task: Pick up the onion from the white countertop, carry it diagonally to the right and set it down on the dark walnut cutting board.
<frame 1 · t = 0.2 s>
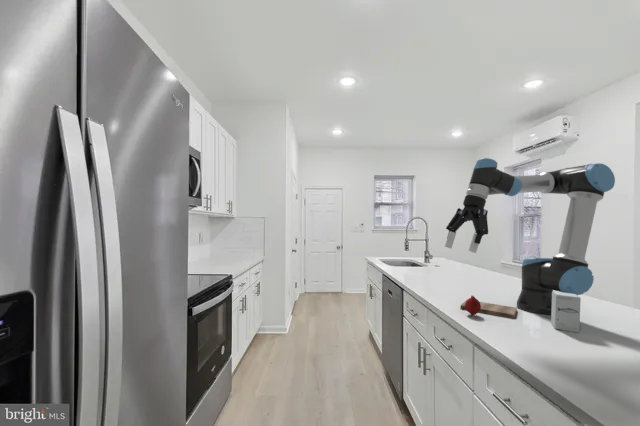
hand: (459, 249, 122), 27 cm above the counter, tool tilted 15°, fingers open, 13 cm apart
onion: (472, 315, 129), on the counter
supplement box: (564, 329, 117), on the counter
walnut board: (488, 310, 138), on the counter
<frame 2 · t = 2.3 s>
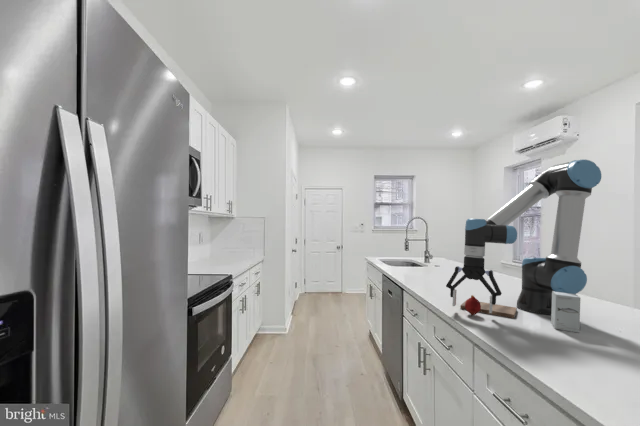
hand: (471, 309, 129), 2 cm above the counter, tool pointing down, fingers open, 13 cm apart
nothing on the counter moved.
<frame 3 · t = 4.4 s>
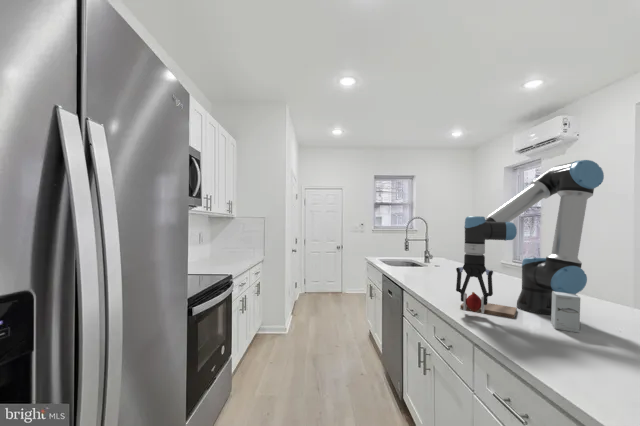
hand: (473, 311, 129), 2 cm above the counter, tool pointing down, fingers closed on onion, 6 cm apart
onion: (473, 312, 129), point 1 cm above the counter, touching gripper
everything else where it was.
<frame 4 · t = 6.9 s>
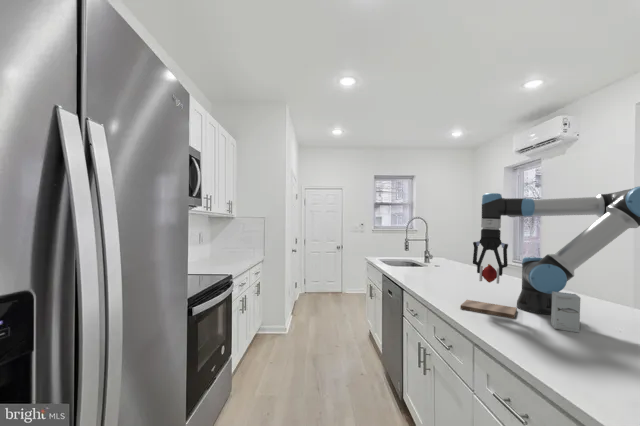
hand: (489, 281, 139), 12 cm above the counter, tool pointing down, fingers closed on onion, 6 cm apart
onion: (489, 282, 139), point 12 cm above the counter, touching gripper
everything else where it was.
when the fingers open (2 cm above the counter, at t = 9.3 s): onion stays where it is, resting on walnut board.
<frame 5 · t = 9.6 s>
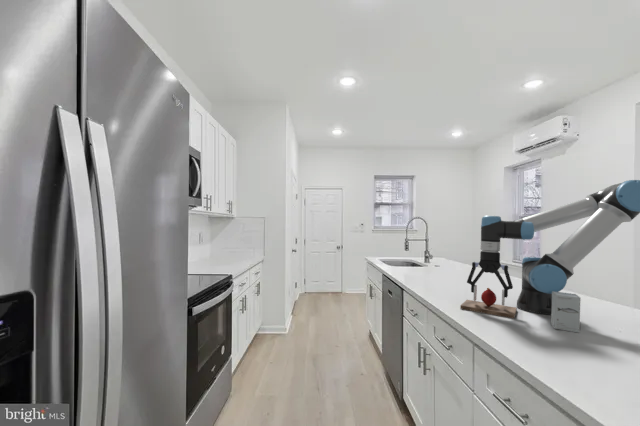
hand: (488, 302, 139), 3 cm above the counter, tool pointing down, fingers open, 10 cm apart
onion: (488, 306, 139), point 1 cm above the counter, touching walnut board
everything else where it was.
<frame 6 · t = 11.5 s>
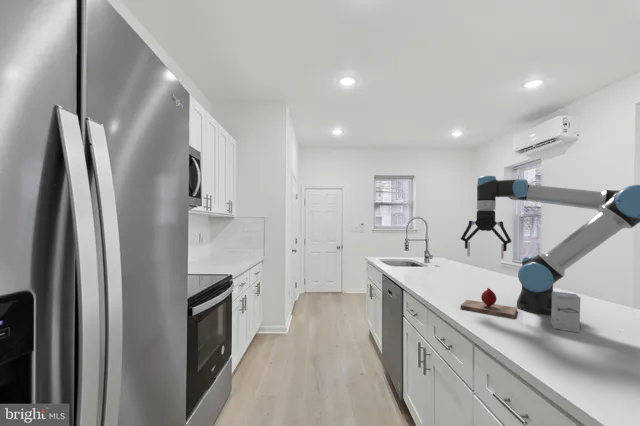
hand: (484, 257, 144), 22 cm above the counter, tool pointing down, fingers open, 13 cm apart
nothing on the counter moved.
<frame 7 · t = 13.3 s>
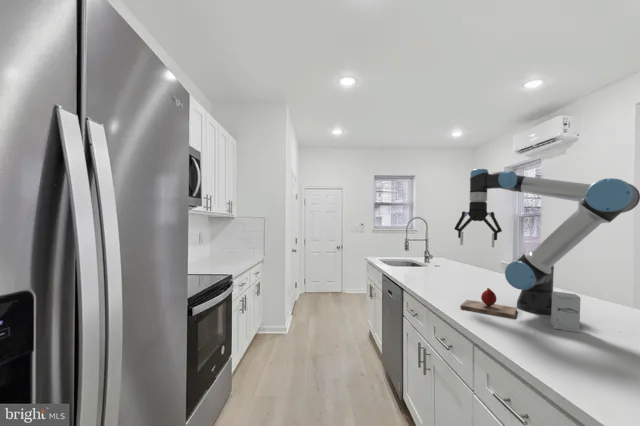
hand: (476, 246, 152), 27 cm above the counter, tool pointing down, fingers open, 13 cm apart
nothing on the counter moved.
at the end: onion inside the target area on the walnut board (0.1 cm from its centre), point 1.3 cm above the walnut board's base; the gripper is holding nothing; onion moved 14.7 cm from its start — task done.
